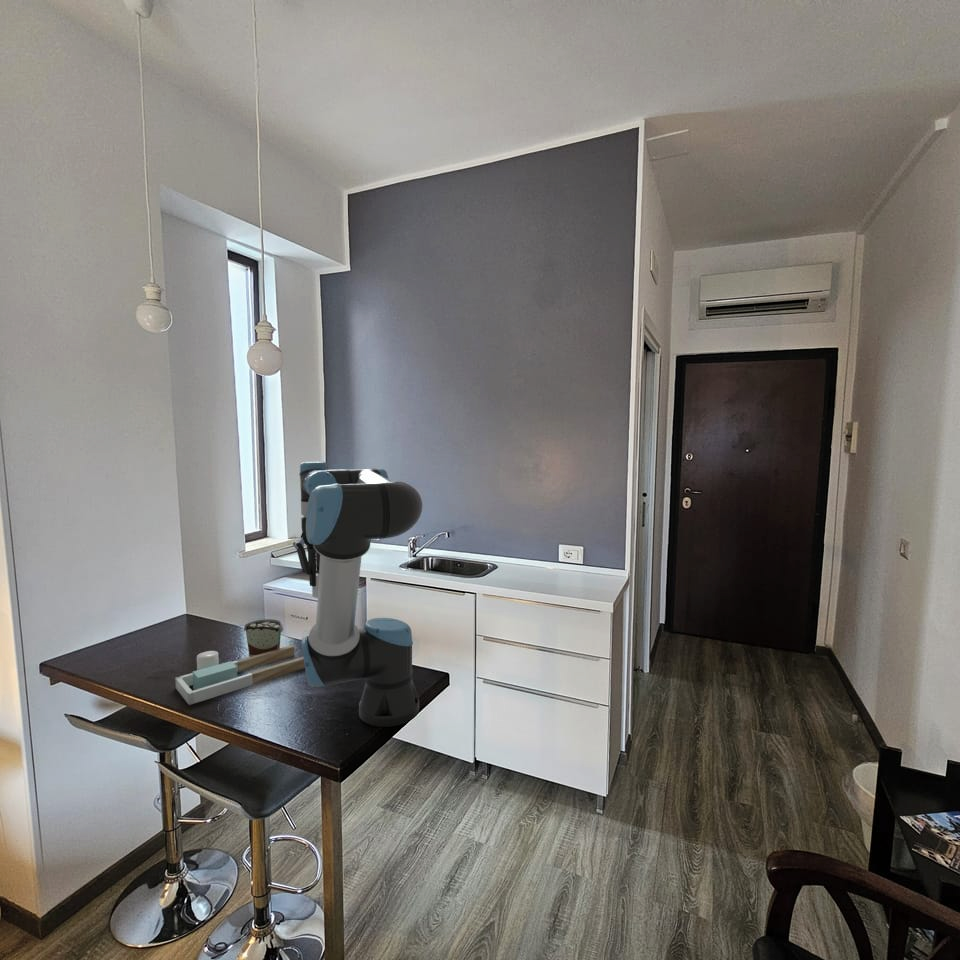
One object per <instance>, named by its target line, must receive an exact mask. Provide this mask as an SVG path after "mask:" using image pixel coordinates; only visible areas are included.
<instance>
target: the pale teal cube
mask: <svg viewBox="0 0 960 960" xmlns="http://www.w3.org/2000/svg"><path fill="white" fill-rule="evenodd" d="M192 673H193V685H192V689H193V690H197V689H200V688H203V687H207V686H210V685H213V684H217V683H218V672H217V671H216V670H215V669H214V668H213V667H212V666H211V667H208V668H204V669H200V670H197V669H196V670H193V671H192Z"/></svg>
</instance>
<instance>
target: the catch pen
mask: <svg viewBox="0 0 960 960" xmlns="http://www.w3.org/2000/svg"><path fill="white" fill-rule="evenodd" d="M231 662H232V663H233V664H234V665H236V666H237V673H239V672H238V662H237V660H234V661H231ZM174 678H175V679H174V680H175V681H174V682H175V689H176V690H177V692H178V693H179V694H180V696H181V697H182V699H184V701H185V702H186V703H187V704H188V705H189V706H191V705H194V704H197V703H200V702H203V701H207V700H210V699H213V698H216V697H219V696H223V695H225V694H229V693H231V692H236V691H238V690H241V689H244V688H247V687H251V686H254V685H253V677H252V674H251V673H250V672H249V673H246V674H243V675H241V676H237V678H233V679H230V680H227V681H223V682H220V683H217V684H213V685H210V686H207V687H203V688H200V689H197V690H194V689H193V690H192V688H190V687H191V686H192V687H193V672H191V673H188V674H187V673H186V674H184V675H179V676H178V677H177V676H176V677H174Z"/></svg>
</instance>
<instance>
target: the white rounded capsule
mask: <svg viewBox="0 0 960 960" xmlns="http://www.w3.org/2000/svg"><path fill="white" fill-rule="evenodd" d="M219 664H220V662H219V652H218V651H216V650H208V651H204V652H200V653H199V654H197V655H196V671H197V670H200V669H204V668H208V667H211V666H215V665H219Z"/></svg>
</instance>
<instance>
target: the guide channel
mask: <svg viewBox="0 0 960 960" xmlns="http://www.w3.org/2000/svg"><path fill="white" fill-rule="evenodd" d="M295 654H296V653H295V646H294V645H288V646H285V647H282V648H280V649H277V650H273V651H269V652H266V653H262V654H259V655H255V656H248V657H246V658H241V659H238V660H236V661H237V662H238V672H237V673H241V672H245V671H249V670H252V669H255V668H259V667H261V666H265V665H268V664H271V663H272V664H273V663H274V662H275V663H276V662H278V661H282V660H285V659H288V658H291V657H294V656H295ZM300 670H305V664H304V658H303V656H301V657H300V656H299V657H298V658H294V659H291V660H287V661H284V662H281V663H278V664H275V665H274V664H273V665H271V666H268V667H264V668H262V669H257V670H254V671H251V672H249V674H250V673H251V674H252V677H253V685H252V686H254V685H257V684H259V683H263V682H266V681H269V680H272V679H275V678H278V677H282V676H285V675H288V674H292V673H294V672H298V671H300Z"/></svg>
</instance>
